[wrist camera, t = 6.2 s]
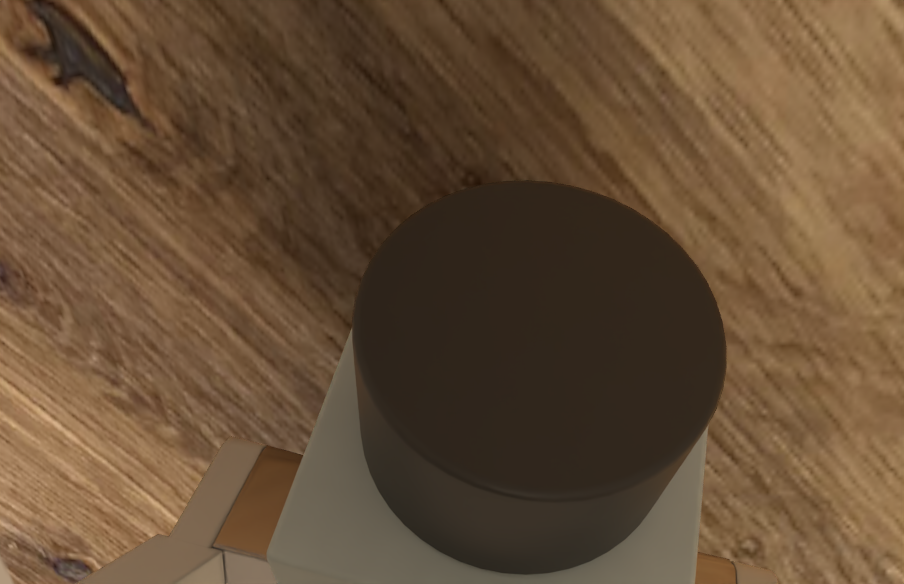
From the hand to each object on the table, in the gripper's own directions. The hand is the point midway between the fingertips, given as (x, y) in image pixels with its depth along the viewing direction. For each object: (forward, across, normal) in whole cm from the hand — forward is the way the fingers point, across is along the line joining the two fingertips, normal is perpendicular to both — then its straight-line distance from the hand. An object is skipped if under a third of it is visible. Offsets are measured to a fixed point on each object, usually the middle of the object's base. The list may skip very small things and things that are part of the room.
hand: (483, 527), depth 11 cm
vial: (+3, 0, +2) cm, 4 cm away
